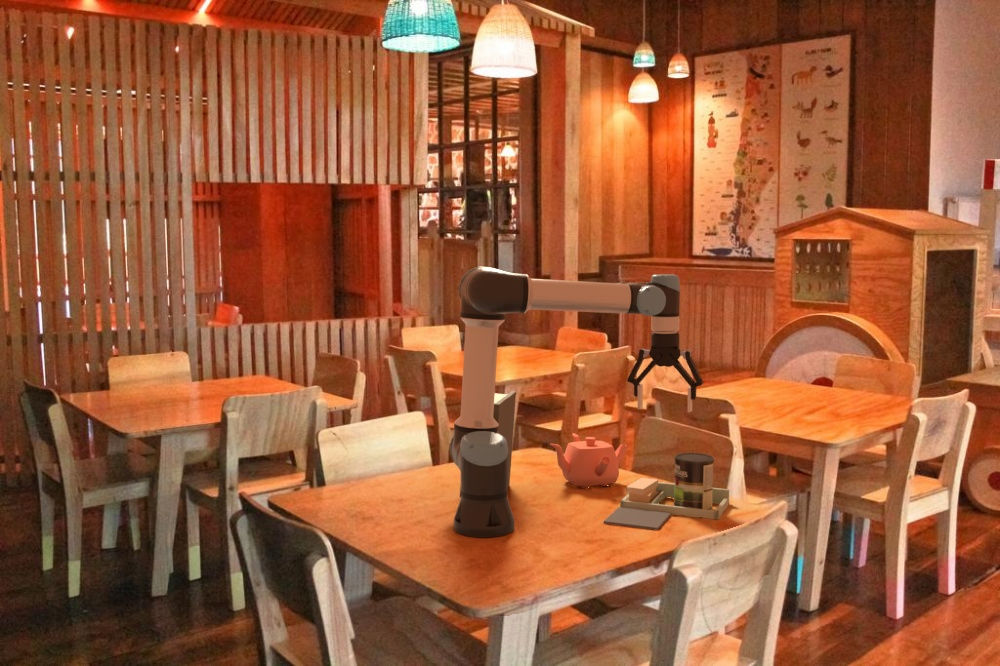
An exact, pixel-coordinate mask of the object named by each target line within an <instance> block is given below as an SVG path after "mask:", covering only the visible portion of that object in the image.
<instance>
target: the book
mask: <svg viewBox="0 0 1000 666" xmlns="http://www.w3.org/2000/svg"><path fill="white" fill-rule="evenodd" d="M516 397H517V391H516V390H511V391H509V392H508V393H507V394H505V393H496V392H495V396H494V412H493V418H494V419H495V420H496V422H497V423H498V424H499V426H498V434H500V435H502V436H503V437H504V438H505V439H506V441H507V447H508V470H507V488H508V487H510V485H511V484H510V481H511V469H512V468H511V467H512V455H513V454H512V453H513V441H514V440H513V439H514V425H515V412H516V411H515V410H516ZM459 498H460V499H461V484H460V487H459Z"/></svg>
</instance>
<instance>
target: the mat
mask: <svg viewBox="0 0 1000 666" xmlns="http://www.w3.org/2000/svg"><path fill="white" fill-rule="evenodd" d="M670 515H671V516H672V514H671V513H667V512H659V511H650V510H641V509H633V508H624V507H620V506H618V507H617V508H616V509H615V510H614V511H613V512H612V513H611V514H610V515H608V517H606V518H605V519H604V520H603V524H606V525H613V526H614V525H615V526H621V527H629V528H638V529H645V530H654V531H659V530H660V528H661V527H662V526H663V525H664V524H665V523H666V522H667V520H668V519H669V518H671V517H670Z"/></svg>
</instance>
